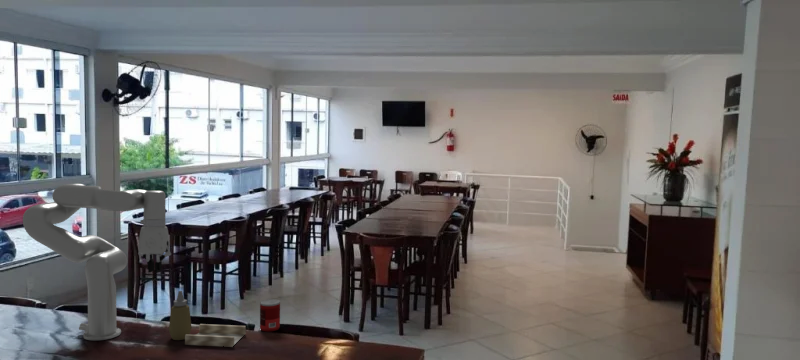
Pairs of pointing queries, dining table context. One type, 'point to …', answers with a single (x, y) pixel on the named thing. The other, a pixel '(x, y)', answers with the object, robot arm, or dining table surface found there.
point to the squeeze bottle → (180, 318)
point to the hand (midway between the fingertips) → (154, 271)
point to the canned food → (269, 315)
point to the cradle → (216, 335)
